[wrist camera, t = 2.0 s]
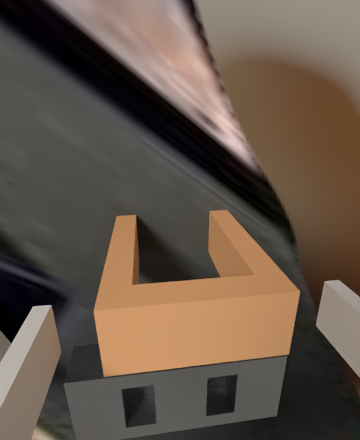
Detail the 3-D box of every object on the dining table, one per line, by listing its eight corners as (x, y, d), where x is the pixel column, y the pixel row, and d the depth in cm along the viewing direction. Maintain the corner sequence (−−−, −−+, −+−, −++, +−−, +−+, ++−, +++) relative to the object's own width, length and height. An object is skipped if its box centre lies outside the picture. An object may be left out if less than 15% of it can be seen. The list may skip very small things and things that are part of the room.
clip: (116, 215, 20) (93, 310, 10) (227, 210, 21) (300, 291, 11) (121, 257, 21) (103, 377, 12) (224, 250, 22) (288, 354, 13)
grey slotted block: (73, 346, 24) (63, 383, 21) (269, 326, 26) (287, 356, 23) (85, 405, 27) (77, 445, 23) (261, 382, 29) (276, 416, 25)
